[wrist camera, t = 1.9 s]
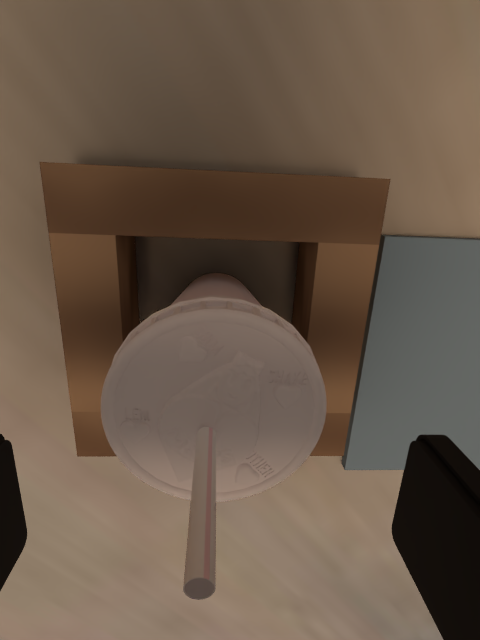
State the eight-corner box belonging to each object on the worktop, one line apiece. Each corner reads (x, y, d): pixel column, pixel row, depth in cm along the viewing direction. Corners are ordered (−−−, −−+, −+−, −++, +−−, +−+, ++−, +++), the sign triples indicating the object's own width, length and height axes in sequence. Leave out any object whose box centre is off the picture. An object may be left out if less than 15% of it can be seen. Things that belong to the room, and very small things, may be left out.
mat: (380, 235, 19) (385, 236, 18) (569, 242, 19) (579, 244, 19) (341, 463, 23) (344, 470, 23) (494, 462, 24) (501, 469, 23)
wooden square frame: (74, 166, 17) (39, 162, 13) (358, 179, 18) (390, 179, 14) (99, 414, 21) (77, 456, 18) (324, 415, 22) (343, 455, 19)
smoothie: (134, 332, 20) (-34, 632, 7) (187, 221, 18) (105, 328, 5) (241, 380, 21) (280, 711, 8) (301, 282, 19) (480, 497, 6)
